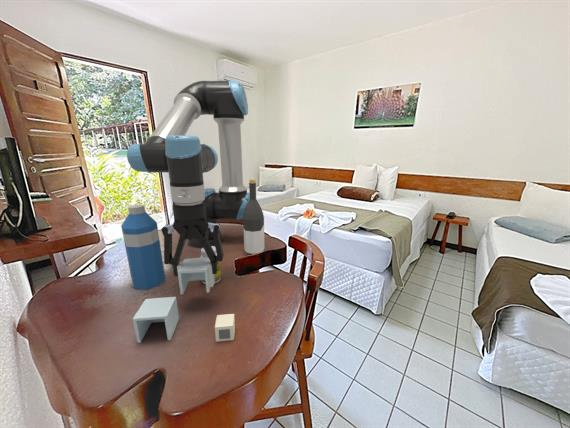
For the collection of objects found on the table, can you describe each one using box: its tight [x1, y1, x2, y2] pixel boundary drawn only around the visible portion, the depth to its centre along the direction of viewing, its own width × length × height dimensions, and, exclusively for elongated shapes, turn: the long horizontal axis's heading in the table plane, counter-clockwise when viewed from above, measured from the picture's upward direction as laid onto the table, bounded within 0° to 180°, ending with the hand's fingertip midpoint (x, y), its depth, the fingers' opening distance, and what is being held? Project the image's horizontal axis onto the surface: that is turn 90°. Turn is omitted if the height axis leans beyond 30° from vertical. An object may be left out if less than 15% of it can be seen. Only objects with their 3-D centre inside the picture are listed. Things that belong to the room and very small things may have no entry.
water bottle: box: [120, 204, 166, 291], centre depth 74 cm, size 9×9×25 cm
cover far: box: [177, 257, 211, 295], centre depth 65 cm, size 7×7×6 cm
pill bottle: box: [199, 245, 222, 285], centre depth 78 cm, size 6×6×11 cm
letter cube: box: [214, 313, 236, 342], centre depth 56 cm, size 4×4×4 cm
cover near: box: [132, 296, 180, 344], centre depth 57 cm, size 7×7×6 cm
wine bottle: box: [242, 178, 266, 255], centre depth 94 cm, size 8×8×30 cm
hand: (197, 284), depth 65 cm, fingers closed on cover far, 7 cm apart
